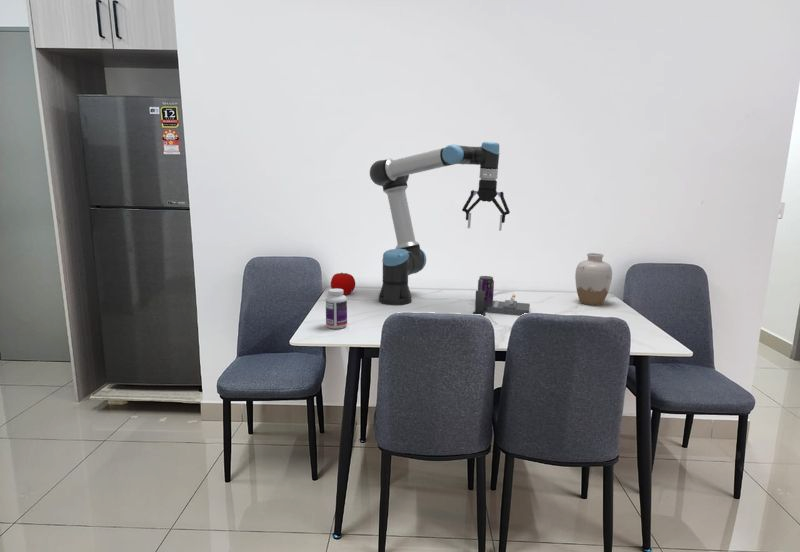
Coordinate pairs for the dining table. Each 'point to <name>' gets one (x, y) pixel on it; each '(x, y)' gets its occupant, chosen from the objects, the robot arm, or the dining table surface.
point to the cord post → (479, 303)
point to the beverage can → (486, 286)
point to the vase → (593, 279)
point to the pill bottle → (336, 309)
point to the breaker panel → (506, 307)
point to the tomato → (343, 282)
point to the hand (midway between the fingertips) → (484, 229)
